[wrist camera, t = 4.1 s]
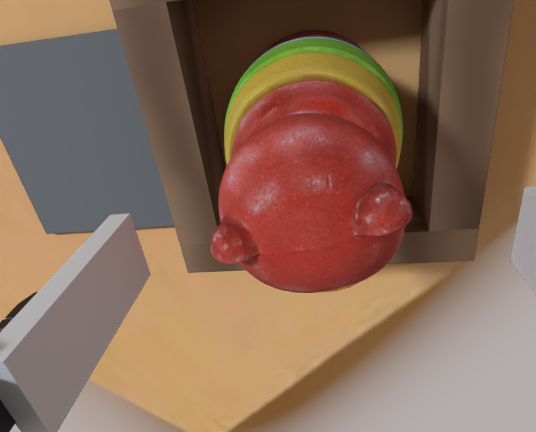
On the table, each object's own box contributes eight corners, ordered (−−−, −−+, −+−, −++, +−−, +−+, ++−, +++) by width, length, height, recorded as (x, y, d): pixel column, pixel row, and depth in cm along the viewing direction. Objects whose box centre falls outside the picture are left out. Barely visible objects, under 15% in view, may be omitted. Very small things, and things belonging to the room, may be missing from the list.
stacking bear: (253, 183, 31) (191, 377, 15) (220, 45, 26) (83, 127, 11) (396, 162, 29) (490, 363, 13) (389, 9, 24) (524, 46, 9)
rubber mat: (49, 230, 35) (46, 233, 35) (-36, 51, 28) (-41, 52, 27) (177, 222, 33) (176, 225, 33) (122, 28, 26) (119, 28, 25)
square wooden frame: (204, 236, 34) (188, 272, 29) (135, -40, 24) (96, -46, 20) (451, 222, 31) (473, 260, 26) (487, -101, 21) (532, -124, 17)
